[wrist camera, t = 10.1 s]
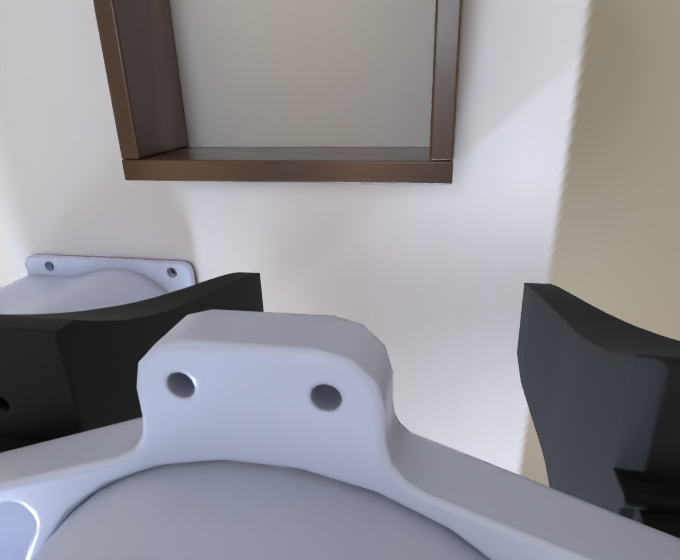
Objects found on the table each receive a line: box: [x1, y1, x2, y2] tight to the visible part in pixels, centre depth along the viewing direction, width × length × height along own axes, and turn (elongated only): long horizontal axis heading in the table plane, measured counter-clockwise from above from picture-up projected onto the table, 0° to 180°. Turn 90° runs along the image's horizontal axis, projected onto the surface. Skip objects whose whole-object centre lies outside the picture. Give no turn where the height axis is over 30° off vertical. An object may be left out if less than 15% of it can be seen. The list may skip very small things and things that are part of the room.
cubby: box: [93, 0, 462, 184], centre depth 18 cm, size 13×10×4 cm
